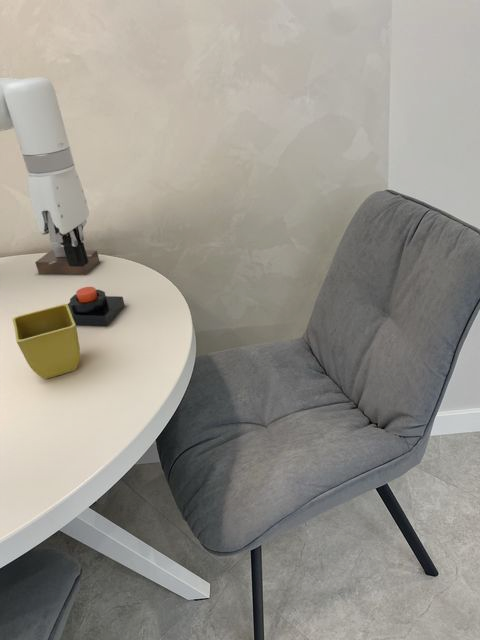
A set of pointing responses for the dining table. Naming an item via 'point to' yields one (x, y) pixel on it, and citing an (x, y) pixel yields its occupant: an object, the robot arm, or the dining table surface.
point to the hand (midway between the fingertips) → (78, 264)
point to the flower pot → (48, 340)
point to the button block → (96, 310)
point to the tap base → (65, 264)
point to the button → (86, 294)
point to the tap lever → (59, 250)
